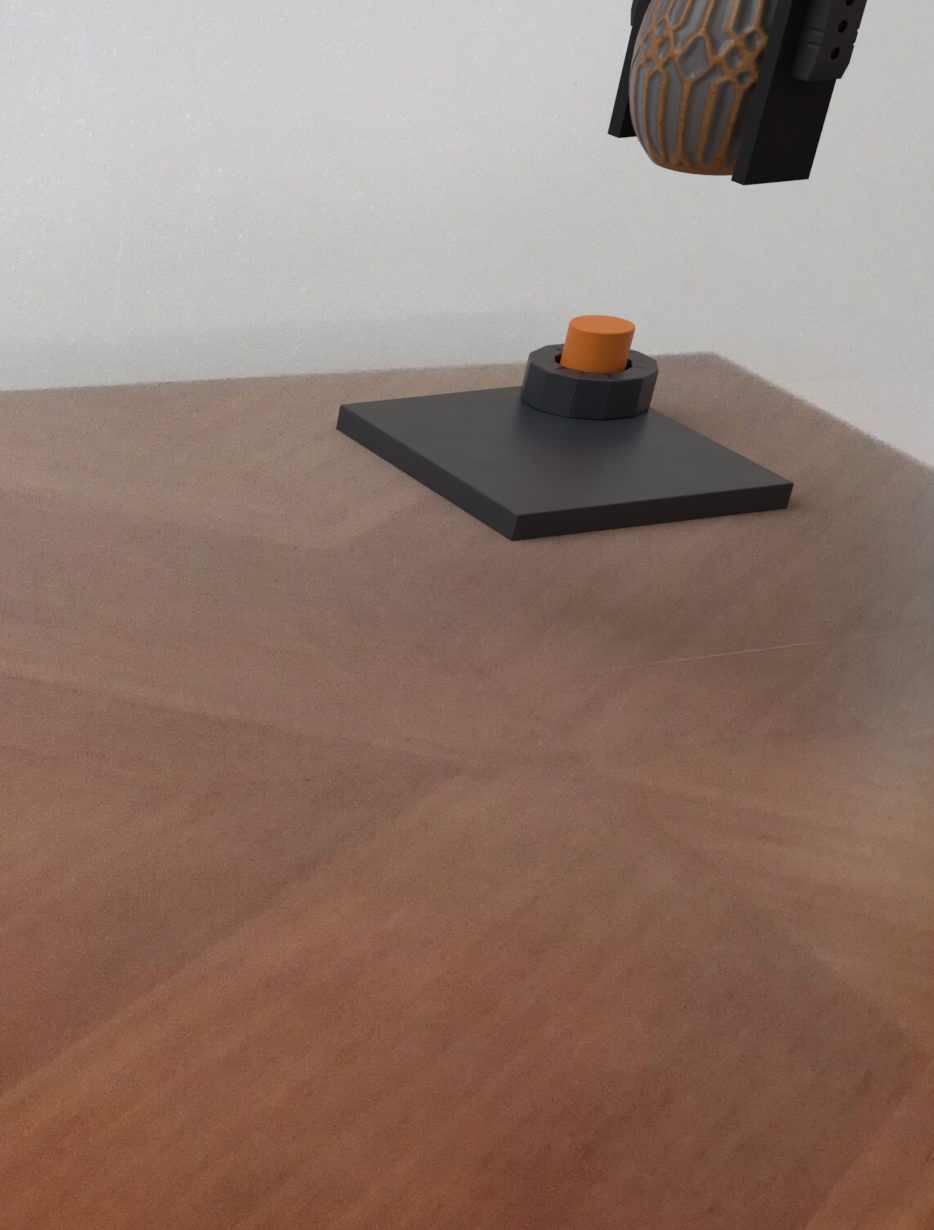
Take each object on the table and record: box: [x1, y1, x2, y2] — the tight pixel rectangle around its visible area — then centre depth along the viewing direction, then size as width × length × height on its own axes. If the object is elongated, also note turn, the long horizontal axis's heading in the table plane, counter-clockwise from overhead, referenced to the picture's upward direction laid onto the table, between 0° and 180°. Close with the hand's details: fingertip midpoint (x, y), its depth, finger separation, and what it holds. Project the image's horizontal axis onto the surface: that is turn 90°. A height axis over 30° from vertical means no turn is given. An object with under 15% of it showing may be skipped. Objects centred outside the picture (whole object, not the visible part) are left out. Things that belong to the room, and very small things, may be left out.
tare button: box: [560, 314, 636, 373], centre depth 117 cm, size 3×3×2 cm
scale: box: [335, 343, 795, 542], centre depth 114 cm, size 16×14×3 cm
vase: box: [629, 0, 778, 177], centre depth 88 cm, size 7×7×9 cm
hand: (705, 155), depth 91 cm, fingers closed on vase, 7 cm apart
